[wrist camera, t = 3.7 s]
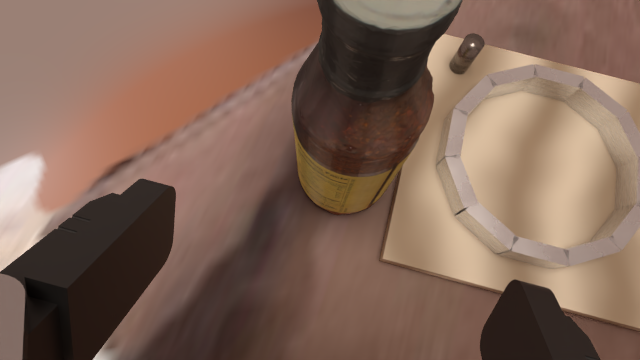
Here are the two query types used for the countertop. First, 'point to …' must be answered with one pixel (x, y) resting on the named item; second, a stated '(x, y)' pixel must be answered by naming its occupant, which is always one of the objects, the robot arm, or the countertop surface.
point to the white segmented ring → (589, 102)
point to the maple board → (518, 189)
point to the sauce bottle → (364, 97)
